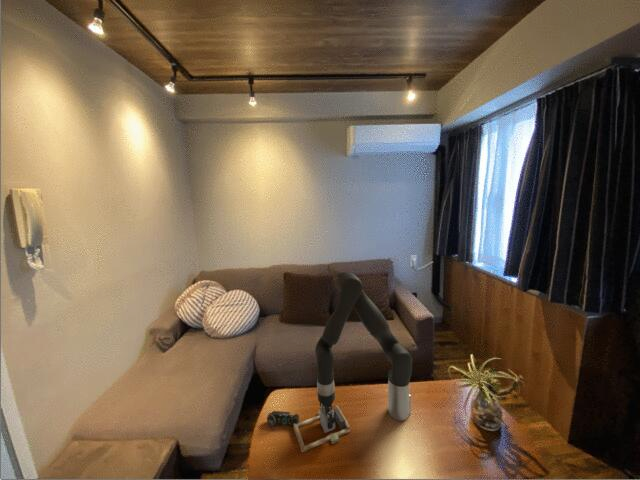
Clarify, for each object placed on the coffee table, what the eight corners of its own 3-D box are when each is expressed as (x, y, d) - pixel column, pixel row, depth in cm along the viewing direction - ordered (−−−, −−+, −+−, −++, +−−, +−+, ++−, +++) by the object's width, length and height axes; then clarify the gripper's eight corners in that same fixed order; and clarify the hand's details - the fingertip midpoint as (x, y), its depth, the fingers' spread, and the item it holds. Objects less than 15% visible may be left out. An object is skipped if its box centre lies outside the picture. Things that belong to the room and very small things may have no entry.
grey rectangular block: (330, 419, 116) (329, 404, 115) (335, 428, 111) (334, 413, 110) (320, 423, 114) (319, 408, 113) (324, 433, 110) (324, 417, 108)
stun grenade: (299, 421, 117) (270, 419, 119) (298, 408, 116) (269, 406, 118) (296, 432, 111) (265, 430, 113) (295, 419, 110) (264, 417, 112)
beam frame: (336, 406, 123) (335, 399, 123) (352, 435, 108) (352, 427, 108) (292, 423, 115) (291, 415, 115) (303, 456, 100) (303, 448, 100)
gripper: (341, 397, 104) (342, 433, 107) (327, 375, 117) (328, 407, 120) (324, 404, 102) (326, 440, 105) (312, 380, 115) (314, 413, 118)
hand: (327, 422), depth 112 cm, fingers closed on grey rectangular block, 5 cm apart
